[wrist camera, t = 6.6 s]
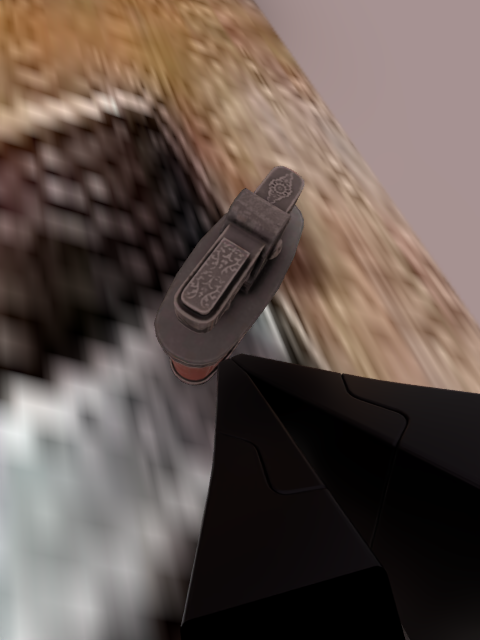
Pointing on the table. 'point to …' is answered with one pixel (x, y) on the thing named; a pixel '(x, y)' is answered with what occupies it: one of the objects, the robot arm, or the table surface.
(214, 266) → the lighter
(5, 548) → the table surface
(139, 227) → the table surface
